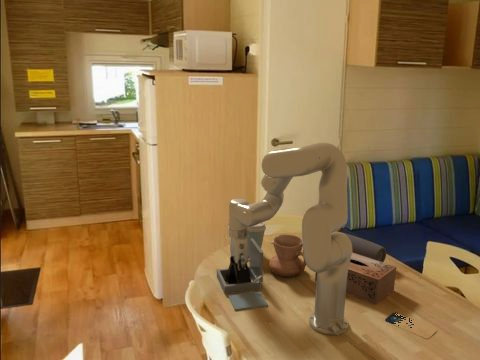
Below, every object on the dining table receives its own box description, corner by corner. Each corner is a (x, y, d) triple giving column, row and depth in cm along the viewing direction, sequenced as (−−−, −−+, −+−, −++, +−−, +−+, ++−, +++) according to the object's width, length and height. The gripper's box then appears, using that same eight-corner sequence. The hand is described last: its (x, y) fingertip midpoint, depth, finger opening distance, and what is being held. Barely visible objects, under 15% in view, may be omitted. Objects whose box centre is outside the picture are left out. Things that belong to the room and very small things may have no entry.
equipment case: (263, 290, 170) (264, 253, 166) (225, 295, 166) (225, 257, 162) (251, 271, 185) (252, 237, 181) (216, 275, 181) (216, 240, 177)
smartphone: (428, 339, 141) (383, 320, 151) (427, 341, 141) (383, 321, 151) (438, 329, 146) (394, 311, 156) (438, 331, 146) (394, 312, 157)
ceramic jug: (259, 270, 186) (260, 238, 182) (282, 259, 196) (284, 229, 192) (293, 286, 173) (295, 253, 169) (316, 274, 183) (318, 242, 179)
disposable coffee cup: (238, 251, 204) (238, 219, 200) (260, 248, 207) (261, 217, 203) (245, 260, 194) (245, 228, 190) (268, 257, 197) (269, 225, 194)
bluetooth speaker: (328, 254, 202) (330, 233, 199) (341, 248, 208) (342, 228, 206) (373, 272, 186) (375, 249, 183) (385, 265, 192) (388, 243, 189)
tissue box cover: (393, 291, 171) (396, 266, 169) (375, 305, 161) (378, 279, 158) (334, 269, 188) (336, 247, 186) (315, 281, 178) (316, 257, 175)
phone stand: (251, 284, 174) (252, 255, 171) (240, 289, 170) (241, 260, 167) (235, 276, 180) (236, 248, 177) (224, 281, 176) (224, 253, 173)
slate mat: (268, 306, 159) (268, 304, 159) (234, 310, 156) (234, 309, 156) (259, 292, 168) (259, 291, 168) (228, 296, 165) (228, 294, 165)
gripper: (254, 239, 163) (253, 282, 167) (242, 222, 179) (241, 262, 183) (234, 241, 161) (233, 284, 165) (223, 224, 177) (223, 264, 181)
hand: (237, 273), depth 174 cm, fingers open, 9 cm apart
